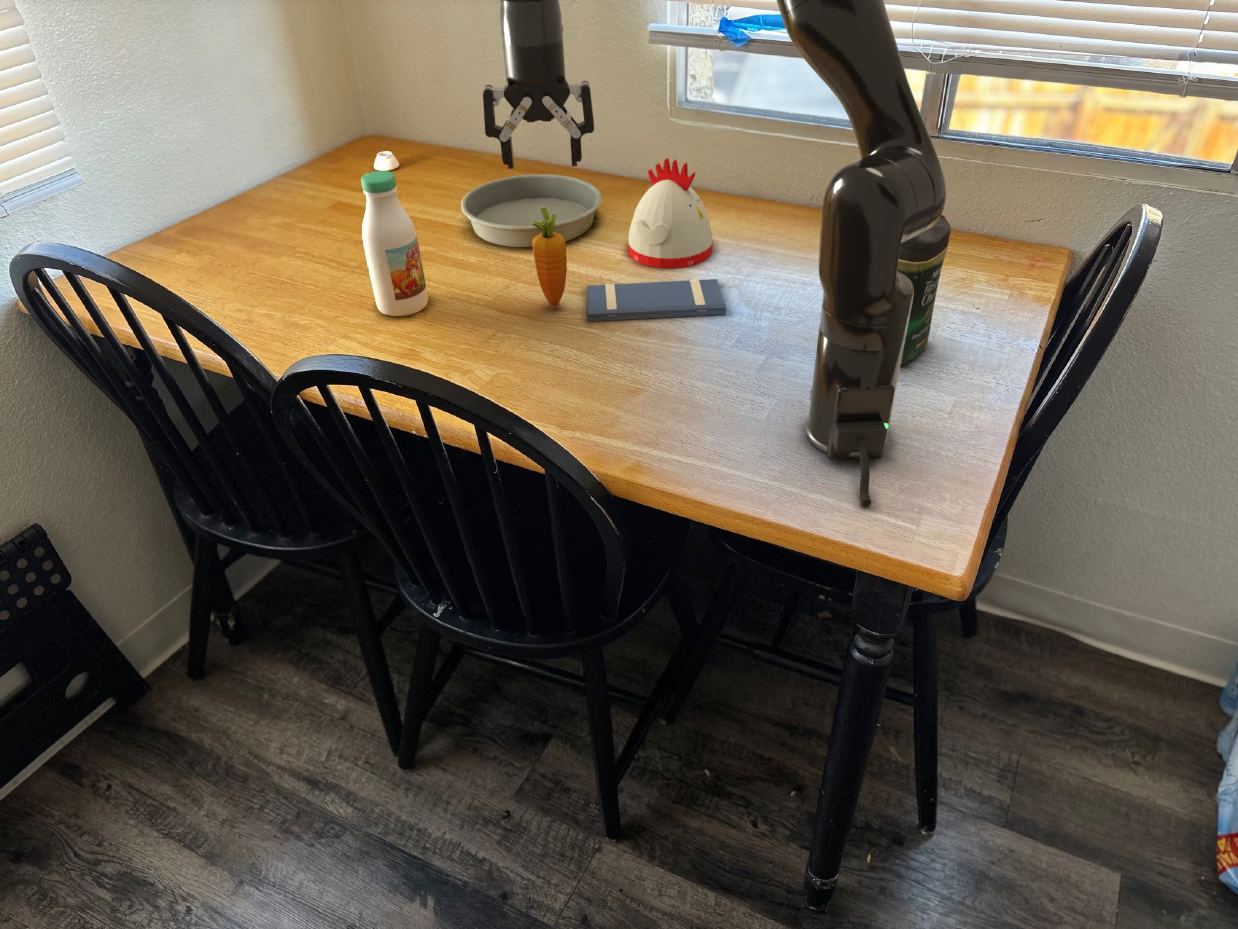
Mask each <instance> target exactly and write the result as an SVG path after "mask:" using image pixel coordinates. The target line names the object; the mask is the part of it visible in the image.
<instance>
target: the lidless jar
mask: <svg viewBox="0 0 1238 929" xmlns="http://www.w3.org/2000/svg"><path fill="white" fill-rule="evenodd" d="M399 167H400V162H399V160H398V159H397V157H395V155H394V154H393V152H392V151H390V150H389V151H388V150H385V151H380V152H377V153H376V157H375V159H374V164H373V169H375V170H376V171H388V172H391V171H393V170H396V169H397V168H399Z"/></svg>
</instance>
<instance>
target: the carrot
mask: <svg viewBox="0 0 1238 929" xmlns="http://www.w3.org/2000/svg"><path fill="white" fill-rule="evenodd" d="M541 212H542V215H543V218H544V220H545V222H544V221H542V220H541V221H540V223H539V222H536V221H532V222H531V225H533V226H536V227H537V228H539V229H540V230H541V232H542V233H541V234H539V235H537V236H536V237H534V239H533V241H532V245H533V247H532V252H533V260H534V266H535V271H536V274H537V277H538V281H539V285H540V288H541V291H542V293H543V295H544V297H545V299H546V301H547V302H548V304H549V305H550V306H551V307H553V308H557V307H558V306H559V304H560V302H561V300H562V298H563V295H564V292H565V287H566V283H567V282H566V281H567V272H568V258H567V243H566V241H565V240H564V238H563V235H561V234H559V233H555V232H553V230H554V226H555V221H556V215H555V214H554V213H552V214H551V219H550V216H549V213H548V211H547V208H546V207H542V208H541ZM545 223H546V224H545Z"/></svg>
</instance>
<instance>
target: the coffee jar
mask: <svg viewBox="0 0 1238 929" xmlns="http://www.w3.org/2000/svg"><path fill="white" fill-rule="evenodd" d="M951 231H952V228H951V224H950V222H949V221H948V220H947V218H946V216H945V215H943V214H941V216H940V218H939V219H938V221H937V222H936V223H935V224H934V225H933V226H932V227H931V228H930V229H928V230H927V231H925V232H923V233H921V234H920V235H918V236H916V237H914V238H912V239H910V240H908V241H906V242H904V243H902V244H901V245H900V251H899V258H898V267H897V271H899V272H901V273H903V274H904V275H906V276H907V277H908V278H909V279H910V280H911V282H912V284H913V288H914V295H913V301H912V307H911V312H910V317H909V323H908V328H907V333H906V338H905V343H904V349H903V354H902V360H901V365H905V364H907V363H909V362H910V361H912V360H913V359H914V358H916V357H917V356H919V355H920V354H921V353H922V351H924V349H925V348H926V347H927V345H928V341H929V337H930V332H931V326H932V320H933V314H934V308H935V302H936V297H937V292H938V287H939V282H940V277H941V273H942V269H943V265H944V261H945V258H946V255H947V251H948V248H949V242H950V235H951Z"/></svg>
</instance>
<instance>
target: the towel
mask: <svg viewBox="0 0 1238 929" xmlns="http://www.w3.org/2000/svg"><path fill="white" fill-rule="evenodd" d="M720 288H721V287H720V284H719V281H718V279H717V278H710V279H708V278H707V279H699V278H696V279H695V278H694V279H688V280H671V281H669V280H667V281H651V282H633V283H631V282H629V283H605V284H593V285H587V286H586V292H587V317H588V318H587V319H588V322H608V321H626V320H645V319H648V320H649V319H664V318H667V319H668V318H683V317H685V318H686V317H703V316H725V315H726V314H727V305H726V303H725V302H724V298H723V295H722V292H721V289H720Z"/></svg>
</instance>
